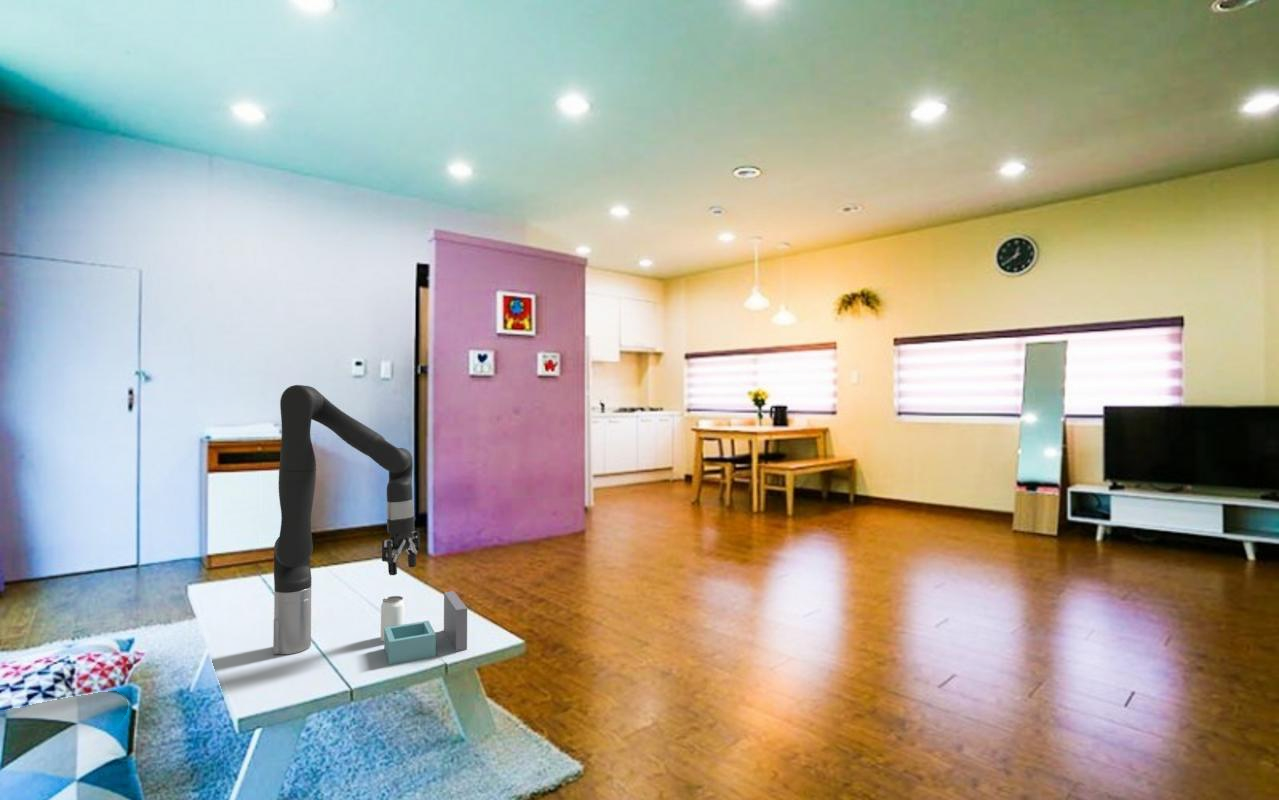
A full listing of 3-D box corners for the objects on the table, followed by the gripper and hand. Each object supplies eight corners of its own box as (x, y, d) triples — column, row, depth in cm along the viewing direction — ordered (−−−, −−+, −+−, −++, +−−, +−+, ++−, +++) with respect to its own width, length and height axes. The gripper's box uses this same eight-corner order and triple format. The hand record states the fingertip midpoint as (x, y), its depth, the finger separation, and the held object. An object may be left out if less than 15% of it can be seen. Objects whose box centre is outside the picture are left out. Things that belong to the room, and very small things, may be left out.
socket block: (389, 664, 163) (389, 642, 163) (384, 648, 174) (384, 627, 174) (435, 655, 169) (435, 634, 169) (428, 640, 180) (428, 620, 180)
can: (408, 639, 182) (408, 598, 182) (387, 645, 177) (387, 604, 177) (397, 633, 186) (398, 594, 186) (376, 639, 181) (377, 599, 181)
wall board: (456, 652, 172) (456, 609, 172) (443, 631, 188) (444, 592, 188) (466, 650, 174) (467, 608, 174) (453, 629, 189) (454, 590, 189)
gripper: (405, 511, 188) (407, 564, 188) (372, 520, 174) (375, 577, 174) (426, 511, 186) (428, 565, 185) (394, 520, 172) (397, 578, 172)
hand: (402, 570), depth 180 cm, fingers open, 8 cm apart
